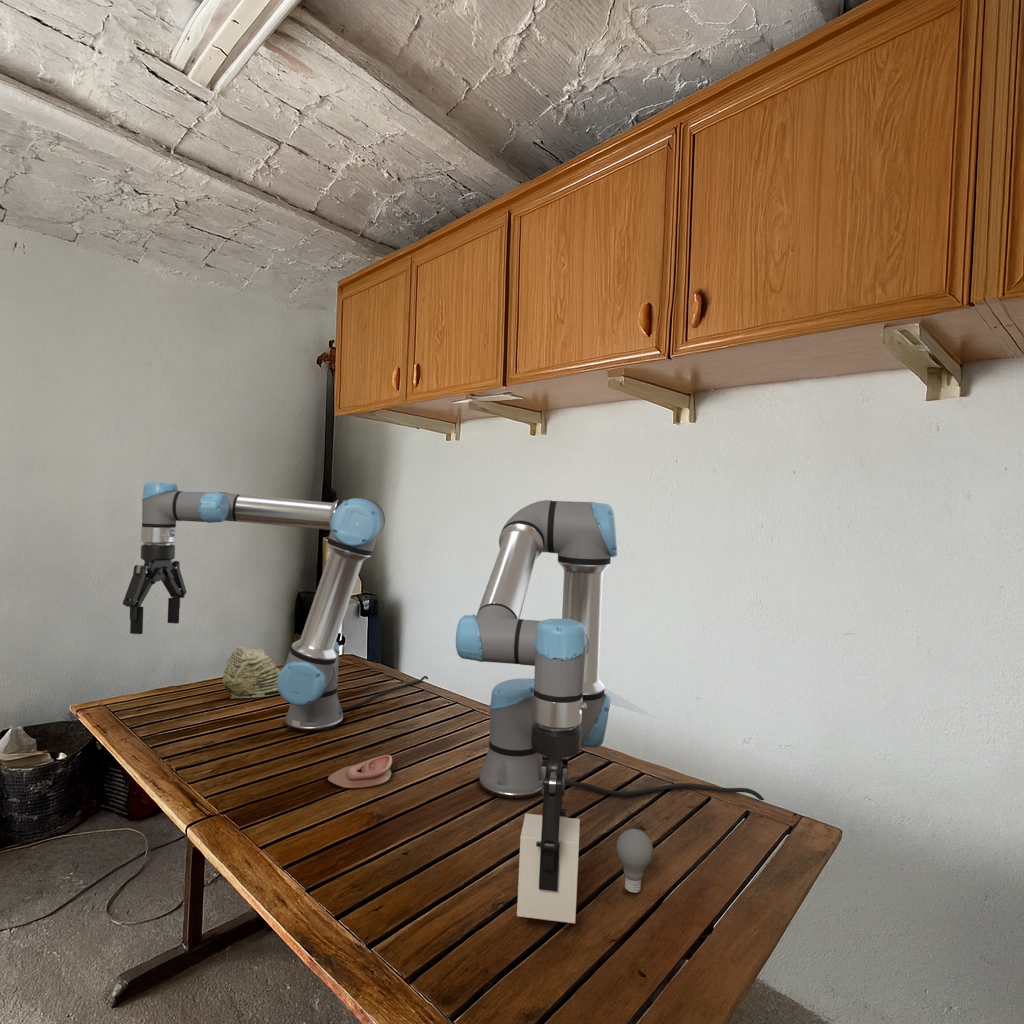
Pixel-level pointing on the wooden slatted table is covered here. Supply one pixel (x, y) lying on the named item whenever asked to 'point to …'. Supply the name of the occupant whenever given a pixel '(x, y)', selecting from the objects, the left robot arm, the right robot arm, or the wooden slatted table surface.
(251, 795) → the wooden slatted table surface
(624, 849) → the light bulb
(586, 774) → the wooden slatted table surface
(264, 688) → the fossil
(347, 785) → the anatomical model
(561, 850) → the block
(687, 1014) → the wooden slatted table surface
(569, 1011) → the wooden slatted table surface
